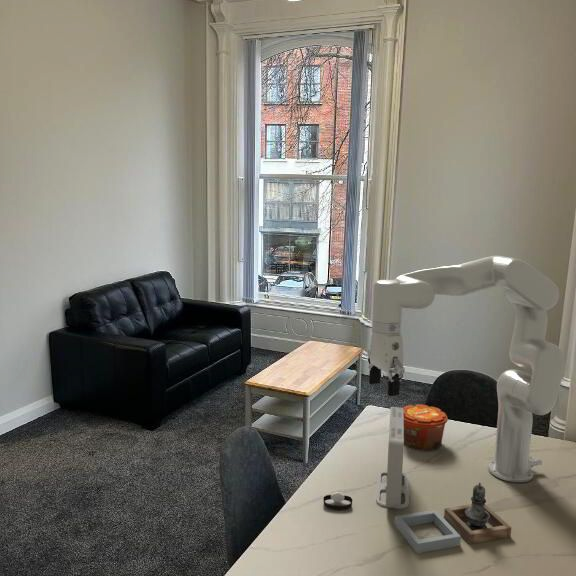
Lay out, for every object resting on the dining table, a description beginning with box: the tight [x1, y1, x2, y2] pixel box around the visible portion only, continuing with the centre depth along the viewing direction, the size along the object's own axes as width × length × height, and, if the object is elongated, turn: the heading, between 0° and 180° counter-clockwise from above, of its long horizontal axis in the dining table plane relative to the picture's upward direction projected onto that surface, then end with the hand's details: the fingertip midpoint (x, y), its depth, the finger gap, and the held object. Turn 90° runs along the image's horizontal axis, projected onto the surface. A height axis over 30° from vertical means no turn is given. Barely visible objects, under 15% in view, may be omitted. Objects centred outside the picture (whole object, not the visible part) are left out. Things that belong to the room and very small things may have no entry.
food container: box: [402, 404, 449, 452], centre depth 184 cm, size 16×16×11 cm
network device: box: [375, 406, 410, 510], centre depth 153 cm, size 26×9×20 cm, turn 168°
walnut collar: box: [443, 503, 512, 545], centre depth 138 cm, size 11×11×2 cm
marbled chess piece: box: [465, 482, 490, 531], centre depth 137 cm, size 6×6×12 cm
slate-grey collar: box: [394, 509, 462, 554], centre depth 134 cm, size 11×11×2 cm
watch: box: [322, 491, 353, 511], centre depth 146 cm, size 8×5×4 cm, turn 86°
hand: (383, 389), depth 147 cm, fingers open, 9 cm apart
